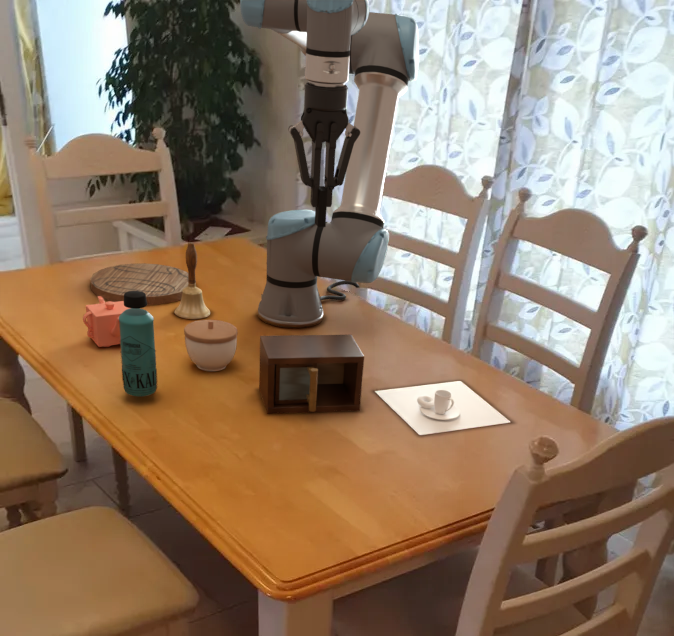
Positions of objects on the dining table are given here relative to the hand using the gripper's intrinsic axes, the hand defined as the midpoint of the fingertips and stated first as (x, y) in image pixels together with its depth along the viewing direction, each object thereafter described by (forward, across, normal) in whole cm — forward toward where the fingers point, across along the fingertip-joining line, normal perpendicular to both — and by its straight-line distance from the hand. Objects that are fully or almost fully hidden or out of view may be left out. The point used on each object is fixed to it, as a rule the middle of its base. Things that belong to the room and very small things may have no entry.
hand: (320, 224), depth 171 cm
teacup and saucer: (+29, +22, -20) cm, 41 cm away
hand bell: (+30, -21, +34) cm, 50 cm away
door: (+27, -8, -21) cm, 35 cm away
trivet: (+30, -31, +53) cm, 69 cm away
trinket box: (+29, -21, +4) cm, 36 cm away
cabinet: (+29, -4, -14) cm, 32 cm away
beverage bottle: (+29, -36, -10) cm, 47 cm away
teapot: (+29, -40, +19) cm, 53 cm away
